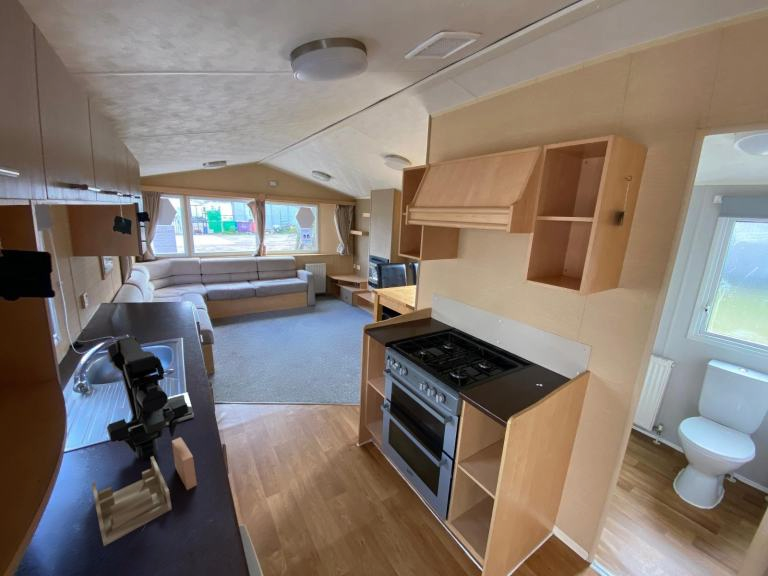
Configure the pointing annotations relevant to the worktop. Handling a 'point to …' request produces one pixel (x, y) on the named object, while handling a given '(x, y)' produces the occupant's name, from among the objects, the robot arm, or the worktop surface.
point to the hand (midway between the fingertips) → (153, 443)
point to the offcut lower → (155, 504)
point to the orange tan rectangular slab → (184, 463)
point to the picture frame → (186, 399)
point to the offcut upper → (131, 506)
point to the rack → (108, 499)
